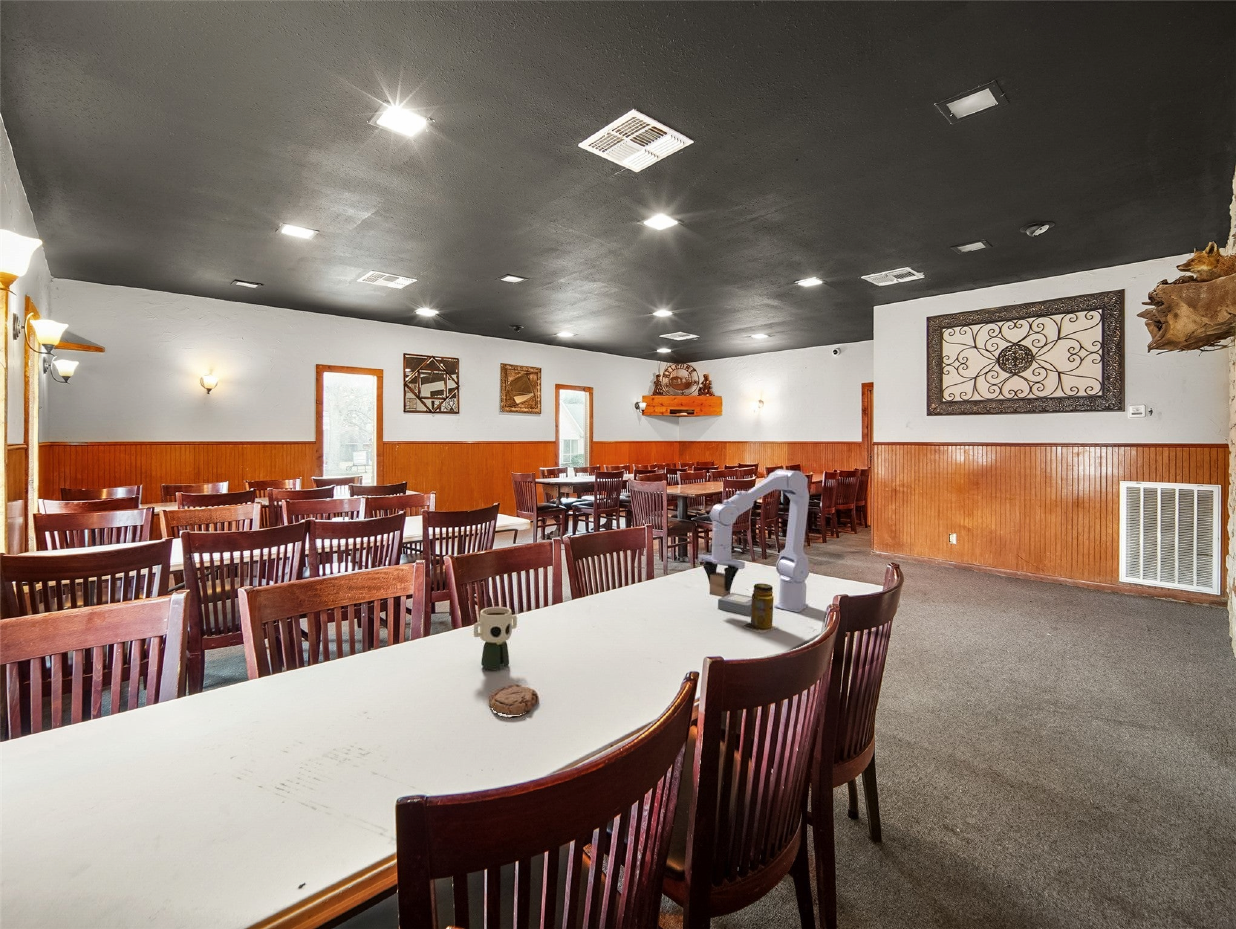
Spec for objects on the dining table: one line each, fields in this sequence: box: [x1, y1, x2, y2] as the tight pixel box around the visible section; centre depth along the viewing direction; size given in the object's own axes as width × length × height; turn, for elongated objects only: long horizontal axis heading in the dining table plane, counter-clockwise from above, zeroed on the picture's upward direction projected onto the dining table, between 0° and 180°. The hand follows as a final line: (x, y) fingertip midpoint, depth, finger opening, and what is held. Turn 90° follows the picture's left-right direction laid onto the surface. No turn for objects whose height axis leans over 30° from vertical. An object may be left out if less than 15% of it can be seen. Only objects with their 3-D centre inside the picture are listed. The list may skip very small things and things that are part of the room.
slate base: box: [717, 592, 752, 616], centre depth 185 cm, size 10×10×3 cm
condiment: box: [740, 583, 779, 634], centre depth 168 cm, size 7×8×12 cm
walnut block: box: [709, 571, 731, 598], centre depth 178 cm, size 5×5×6 cm
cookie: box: [487, 683, 540, 715], centre depth 117 cm, size 10×11×3 cm
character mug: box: [473, 606, 518, 671], centre depth 135 cm, size 11×7×13 cm, turn 131°
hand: (720, 588), depth 178 cm, fingers closed on walnut block, 5 cm apart
